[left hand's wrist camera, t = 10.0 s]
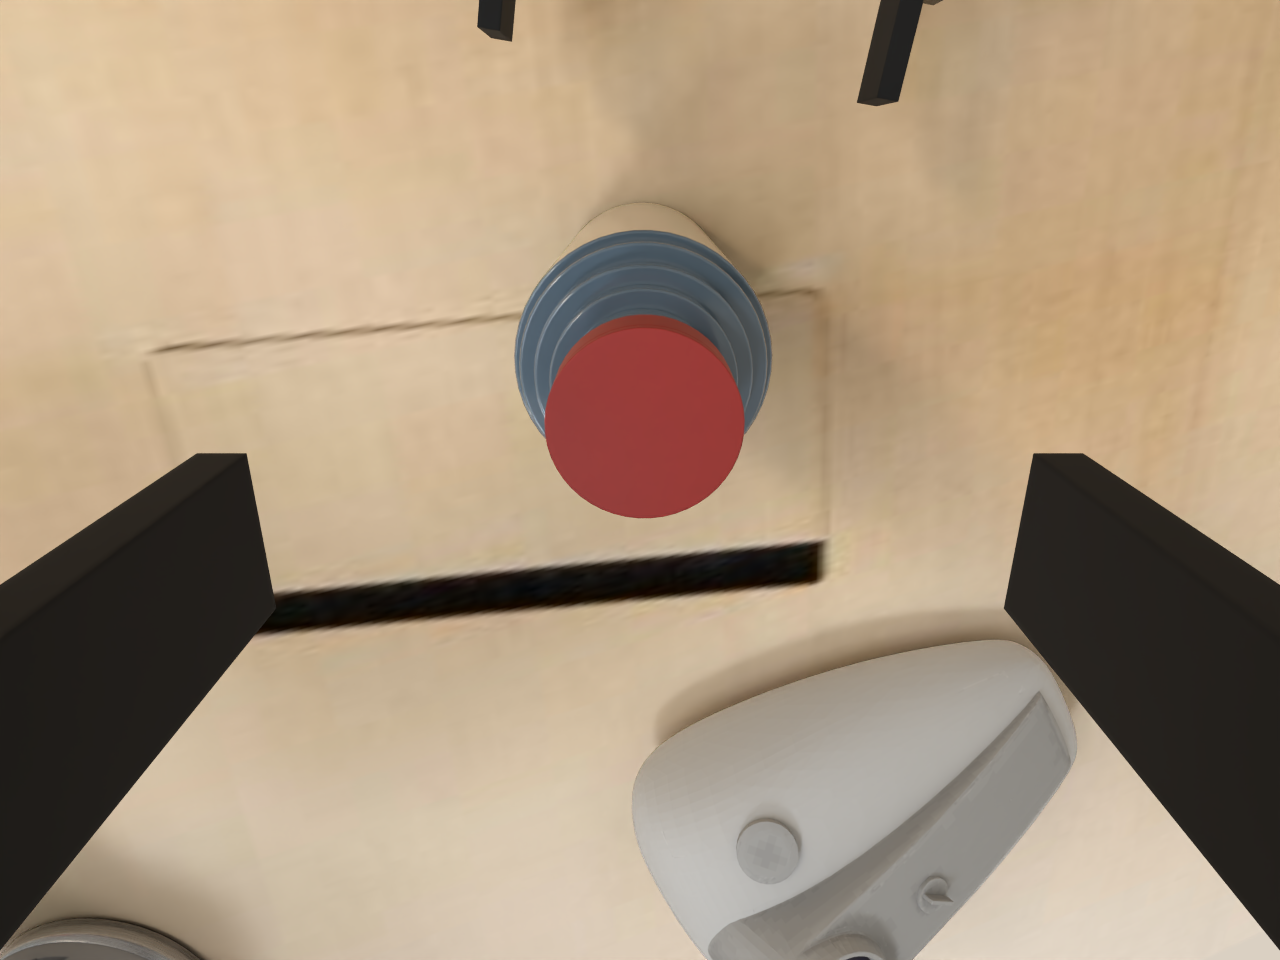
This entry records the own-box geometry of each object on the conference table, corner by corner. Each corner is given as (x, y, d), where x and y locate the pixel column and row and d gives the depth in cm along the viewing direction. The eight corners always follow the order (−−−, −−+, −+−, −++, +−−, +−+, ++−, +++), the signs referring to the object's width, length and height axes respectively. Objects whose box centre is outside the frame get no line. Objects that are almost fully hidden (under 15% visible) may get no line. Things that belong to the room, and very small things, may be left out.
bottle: (752, 249, 37) (873, 347, 18) (677, 393, 39) (712, 613, 20) (602, 171, 35) (560, 187, 16) (534, 325, 38) (430, 491, 19)
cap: (770, 365, 19) (781, 382, 18) (684, 519, 21) (687, 547, 19) (599, 280, 18) (595, 291, 17) (522, 446, 20) (512, 470, 18)
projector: (943, 931, 52) (1051, 1205, 38) (595, 871, 50) (579, 1136, 37) (1090, 646, 44) (1292, 863, 31) (684, 560, 42) (705, 752, 29)
